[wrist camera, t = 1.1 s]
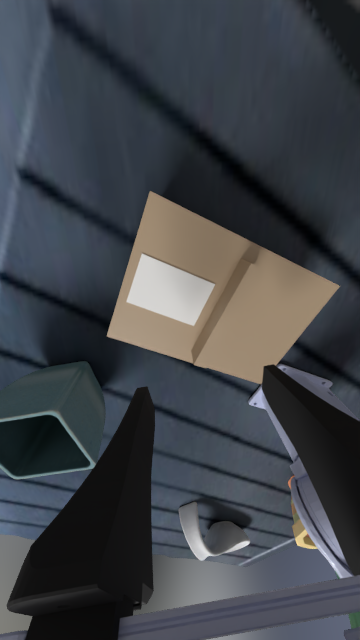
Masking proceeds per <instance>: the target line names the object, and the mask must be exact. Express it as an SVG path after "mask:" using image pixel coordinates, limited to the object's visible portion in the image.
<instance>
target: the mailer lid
mask: <svg viewBox="0 0 360 640" xmlns="http://www.w3.org/2000/svg"><path fill="white" fill-rule="evenodd" d="M339 287H340V286H339V285H337V284H335V283H333V282H331V281H329V280H327V279H325V278H323V277H321V276H319V275H317V274H315V273H313V272H311V271H309V270H307V269H305V268H303V267H301V266H299V265H297V264H295V263H293V262H291V261H289V260H287V259H285V258H283V257H281V256H279V255H277V254H275V253H273V252H271V251H269V250H267V249H265V248H263V247H261V246H259V245H257V244H255V243H253V242H251V241H249V240H247V239H245V238H243V237H241V236H239V235H237V234H235V233H233V232H231V231H229V230H227V229H225V228H223V227H221V226H219V225H217V224H215V223H213V222H211V221H209V220H207V219H205V218H203V217H201V216H199V215H197V214H195V213H193V212H191V211H189V210H187V209H185V208H183V207H181V206H179V205H177V204H175V203H173V202H171V201H169V200H167V199H165V198H163V197H161V196H159V195H157V194H155V193H153V192H151V191H150V193H149V196H148V200H147V203H146V206H145V210H144V213H143V216H142V220H141V223H140V226H139V230H138V233H137V236H136V240H135V243H134V246H133V250H132V253H131V256H130V260H129V263H128V266H127V270H126V273H125V277H124V280H123V283H122V287H121V290H120V293H119V297H118V300H117V303H116V307H115V310H114V313H113V317H112V320H111V323H110V327H109V330H108V333H107V337H110V338H113V339H117V340H120V341H123V342H126V343H130V344H133V345H136V346H139V347H143V348H146V349H149V350H152V351H155V352H159V353H162V354H165V355H168V356H172V357H175V358H178V359H181V360H184V361H188V362H191V363H193V364H194V365H197V366H200V367H203V368H210V369H213V370H217V371H220V372H223V373H226V374H230V375H233V376H236V377H239V378H243V379H246V380H249V381H252V382H255V383H259V384H261V383H262V380H263V368H264V366H267V365H272V364H274V365H275V366H276V365H277V364H278V362H279V361H280V360H281V359H282V357H283V356H284V355H285V354H286V352H287V351H288V350H289V349H290V347H291V346H292V345H293V344H294V342H295V341H296V340H297V339H298V338H299V336H300V335H301V334H302V333H303V331H304V330H305V329H306V328H307V326H308V325H309V324H310V323H311V321H312V320H313V319H314V318H315V316H316V315H317V314H318V313H319V311H320V310H321V309H322V308H323V306H324V305H325V304H326V303H327V302H328V300H329V299H330V298H331V297H332V295H333V294H334V293H335V292H336V290H337V289H338V288H339Z"/></svg>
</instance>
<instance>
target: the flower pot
mask: <svg viewBox="0 0 360 640" xmlns="http://www.w3.org/2000/svg"><path fill="white" fill-rule="evenodd" d="M104 424H105V402H104V397H103V393H102V390H101V387H100V385H99V383H98V381H97V379H96V377H95V375H94V373H93V371H92V369H91V367H90V365H89V363H88V362H86V361H80V362H74V363H69V364H62V365H56V366H51V367H47V368H44V369H41V370H38V371H35V372H33V373H30V374H28V375H26V376H24V377H22V378H20V379H18V380H16V381H14V382H13V383H11V384H9V385H8V386H7V387H5V388H4V389H2V390H1V391H0V468H1V469H2V470H3V471H4V472H5V473H7V474H8V475H9V476H10V477H12V478H14V479H24V478H31V477H37V476H44V475H51V474H60V473H65V472H73V471H80V470H87V469H91V468H94V466H95V465H96V464H97V460H98V455H99V450H100V445H101V440H102V435H103V429H104Z"/></svg>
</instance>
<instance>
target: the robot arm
mask: <svg viewBox="0 0 360 640" xmlns="http://www.w3.org/2000/svg"><path fill="white" fill-rule="evenodd" d="M283 368H284V369H283ZM332 384H333V383H332V382H331V381H330V380H327V379H324V378H321V377H318V376H315V375H312V374H310V373H307V372H304V371H301V370H298V369H295V368H292V367H289V366H287V365H284V364H278V365H277V366H275V365H274V364H272V365H267V366H264V368H263V380H262V385H261V386H260V387H259V388H258V390H257V391H256V392H255V393H254V395H253V396H252V397H251V398H250V399H249V401H248V403H249V405H252V406H256V407H259V408H263V409H266V410H267V412H268V414H269V416H270V418H271V420H272V422H273V424H274V426H275V428H276V429H277V431H278V433H279V435H280V437H281V439H282V441H283V443H284V445H285V447H286V449H287V450H288V452H289V454H290V456H291V458H292V460H293V462H294V463H293V464H292V465H290V468H291V470H292V472H293V474H294V476H295V477H293V478H292V479H291V495H292V500H293V503H294V506H295V508H296V511H297V513H298V515H299V518H300V520H301V522H302V524H303V526H304V527H305V529H306V531H307V533H308V534H309V536H310V538H311V539H312V541H313V542H314V544H315V545H316V547H317V548H318V549H319V551H320V552H321V553H322V554H323V555H324V556H325V558H326V559H327V560H328V561H329V563H330V564H331V565H332V567H333V568H334V570H335V571H336V573H337V574H338V576H339V577H340V579H335V580H330V581H324V582H318V583H313V584H307V585H302V586H296V587H291V588H285V589H279V590H274V591H268V592H263V593H257V594H251V595H246V596H240V597H235V598H229V599H223V600H218V601H212V602H207V603H202V604H195V605H190V606H185V607H179V608H173V609H167V610H162V611H156V612H151V613H145V614H140V615H134V616H133V611H134V610H140V609H141V606H142V605H144V604H147V603H148V601H149V599H150V597H151V595H152V593H153V570H152V532H151V468H152V456H153V444H154V431H155V409H154V405H153V402H152V399H151V396H150V393H149V390H148V387H141V388H137V389H136V391H135V394H134V396H133V398H132V401H131V403H130V405H129V407H128V409H127V411H126V413H125V415H124V417H123V419H122V421H121V423H120V425H119V427H118V429H117V431H116V433H115V434H114V436H113V438H112V440H111V441H110V443H109V445H108V446H107V448H106V450H105V451H104V453H103V454H102V456H101V458H100V459H99V461H98V462H97V464H96V465H95V466H94V468H93V469H92V471H91V472H90V474H89V475H88V477H87V478H86V479H85V481H84V482H83V483H82V485H81V486H80V487H79V489H78V490H77V491H76V493H75V494H74V495H73V496H72V498H71V499H70V500H69V502H68V503H67V504H66V505H65V507H64V508H63V509H62V510H61V512H60V513H59V514H58V515H57V516H56V518H55V519H54V520H53V521H52V522H51V523H50V525H49V526H48V527H47V528H46V529H45V530H44V532H43V533H42V534H41V535H40V536H39V537H38V539H37V540H36V541H35V542H34V543H33V544H32V545H31V547H30V550H29V552H28V554H27V556H26V558H25V560H24V563H23V565H22V568H21V570H20V573H19V575H18V578H17V580H16V583H15V586H14V588H13V591H12V593H11V595H10V598H9V600H8V603H7V609H8V610H9V611H11V612H14V613H19V614H24V615H29V616H33V617H32V620H31V623H30V626H29V629H28V631H16V632H10V633H5V634H0V640H206V639H211V638H217V637H222V636H228V635H233V634H239V633H245V632H250V631H256V630H261V629H267V628H273V627H278V626H283V625H289V624H294V623H300V622H306V621H311V620H317V619H323V618H328V617H334V616H339V615H345V614H350V613H356V612H360V420H359V419H358V418H357V417H356V416H355V415H354V414H353V413H352V412H351V411H350V410H349V409H348V408H347V407H346V406H345V405H344V404H343V403H342V402H341V401H340V400H339V399H338V398H337V396H336V395H335V394H334V393H333V392H332V391H331V390H330V389H329V388H330V387H331V386H332ZM344 636H345V638H346V640H360V626H359V627H357V628H353V629H348V630H344Z"/></svg>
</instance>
